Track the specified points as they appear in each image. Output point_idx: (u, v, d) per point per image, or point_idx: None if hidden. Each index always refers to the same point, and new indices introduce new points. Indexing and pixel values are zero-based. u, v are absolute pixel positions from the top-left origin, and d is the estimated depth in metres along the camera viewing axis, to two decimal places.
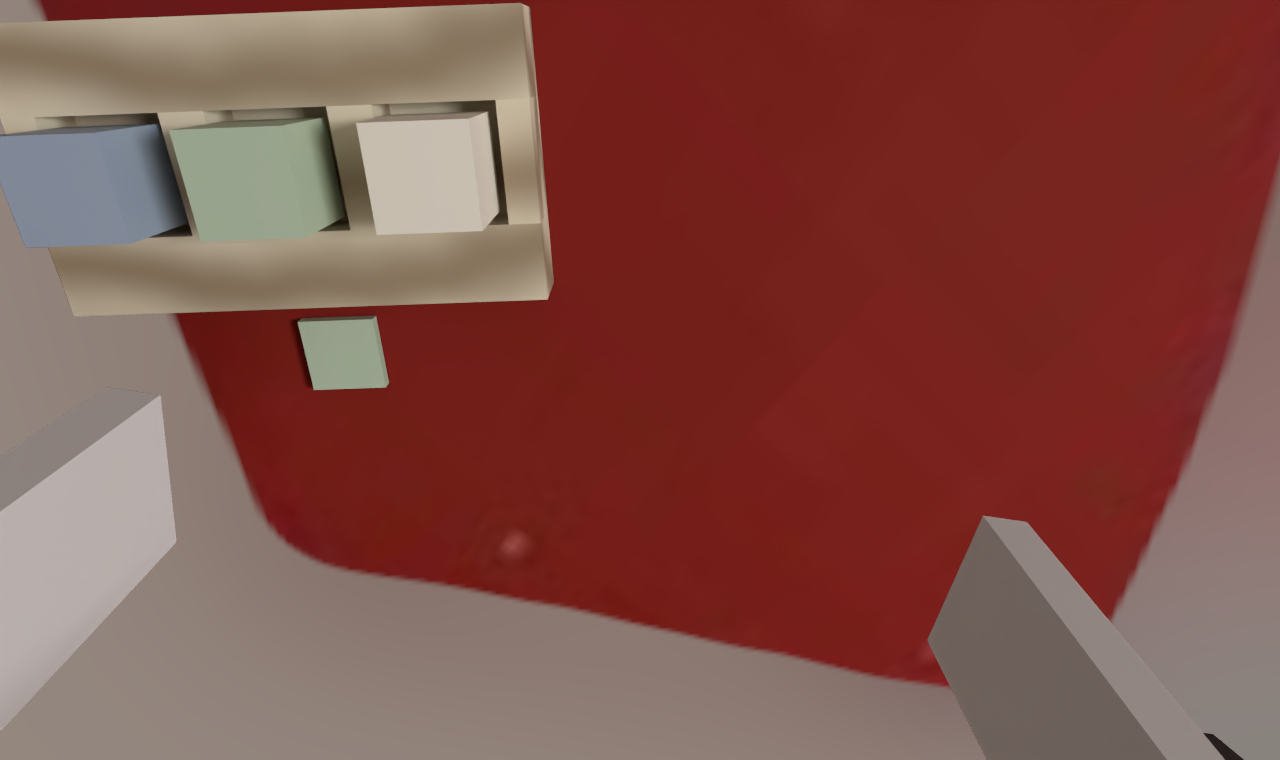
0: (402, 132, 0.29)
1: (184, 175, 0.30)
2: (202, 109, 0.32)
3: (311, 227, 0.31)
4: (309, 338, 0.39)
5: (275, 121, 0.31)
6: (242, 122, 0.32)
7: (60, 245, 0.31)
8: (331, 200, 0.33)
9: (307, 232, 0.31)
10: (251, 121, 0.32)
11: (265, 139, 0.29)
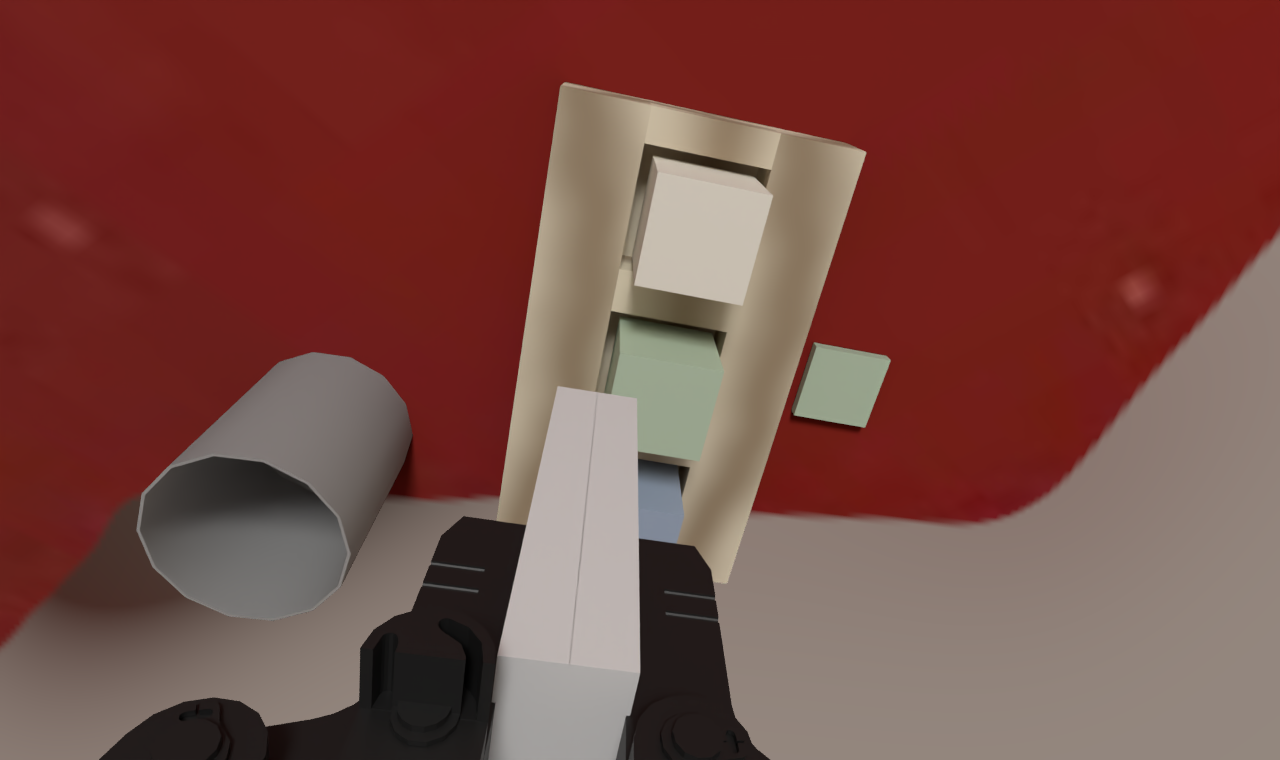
0: (653, 244, 0.28)
1: (640, 449, 0.32)
2: None
3: (715, 364, 0.31)
4: (813, 410, 0.38)
5: (613, 358, 0.33)
6: (607, 386, 0.34)
7: None
8: (694, 338, 0.33)
9: (719, 369, 0.31)
10: (608, 379, 0.34)
11: (627, 370, 0.30)
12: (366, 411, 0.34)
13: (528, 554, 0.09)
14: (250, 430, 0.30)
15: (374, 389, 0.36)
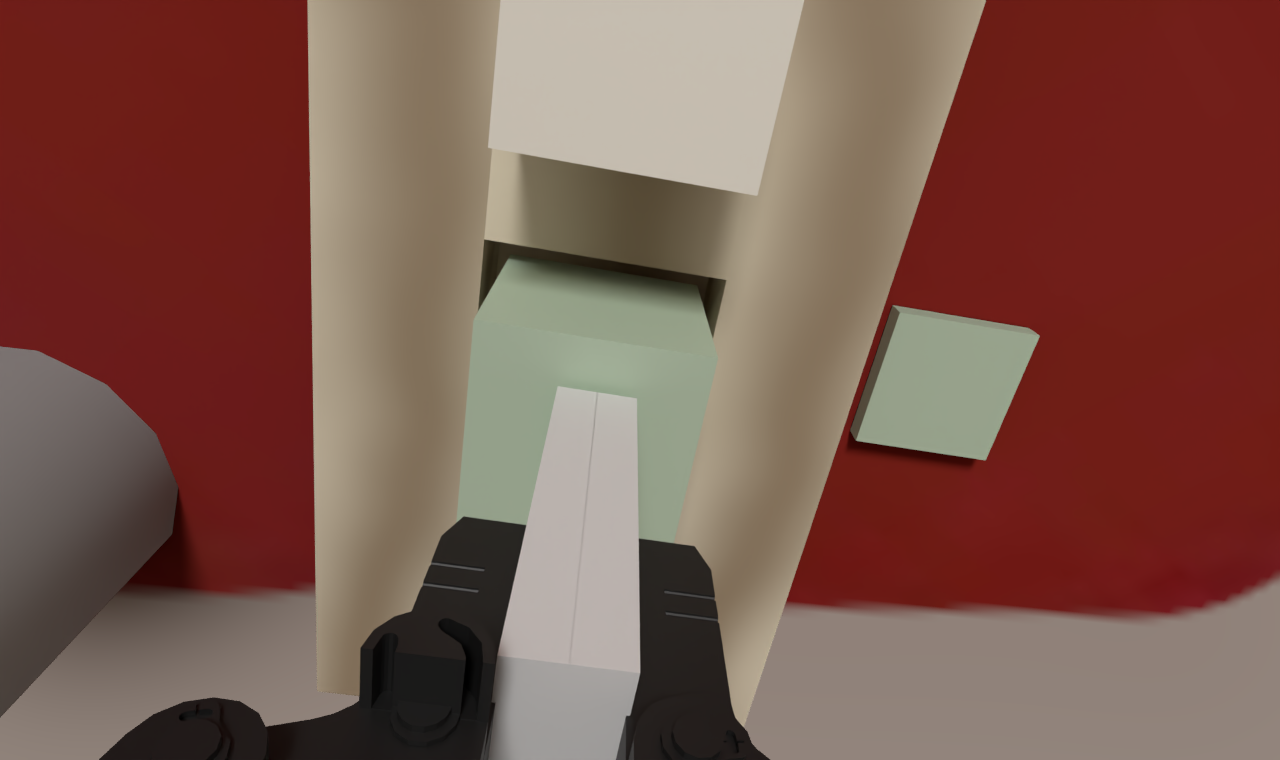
0: (525, 32, 0.11)
1: None
2: None
3: (699, 341, 0.14)
4: (891, 432, 0.21)
5: None
6: None
7: None
8: (658, 294, 0.16)
9: (708, 352, 0.13)
10: None
11: (496, 360, 0.13)
12: (22, 453, 0.18)
13: (528, 554, 0.09)
14: None
15: (66, 409, 0.19)
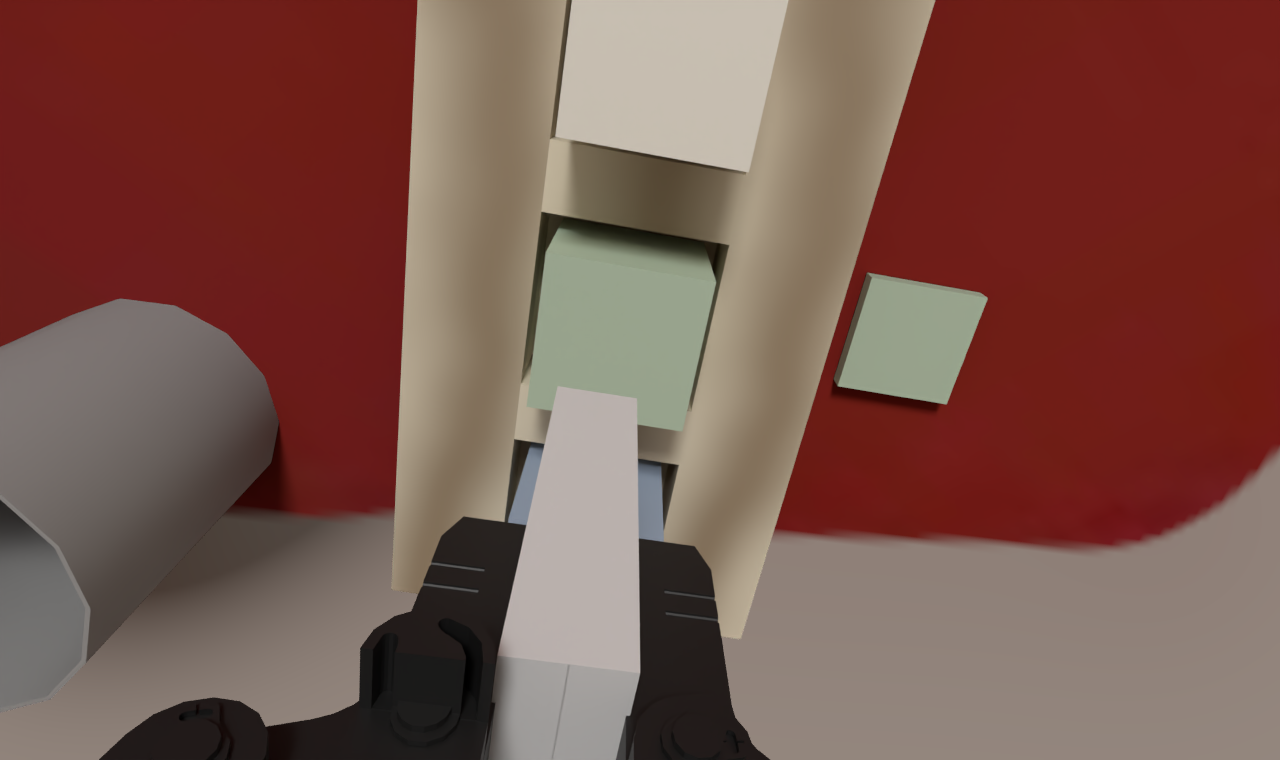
0: (584, 55, 0.16)
1: None
2: (518, 382, 0.23)
3: (703, 273, 0.20)
4: (867, 379, 0.25)
5: None
6: None
7: None
8: (675, 245, 0.22)
9: (709, 279, 0.19)
10: None
11: (560, 282, 0.19)
12: (175, 380, 0.22)
13: (528, 554, 0.09)
14: None
15: (202, 350, 0.24)
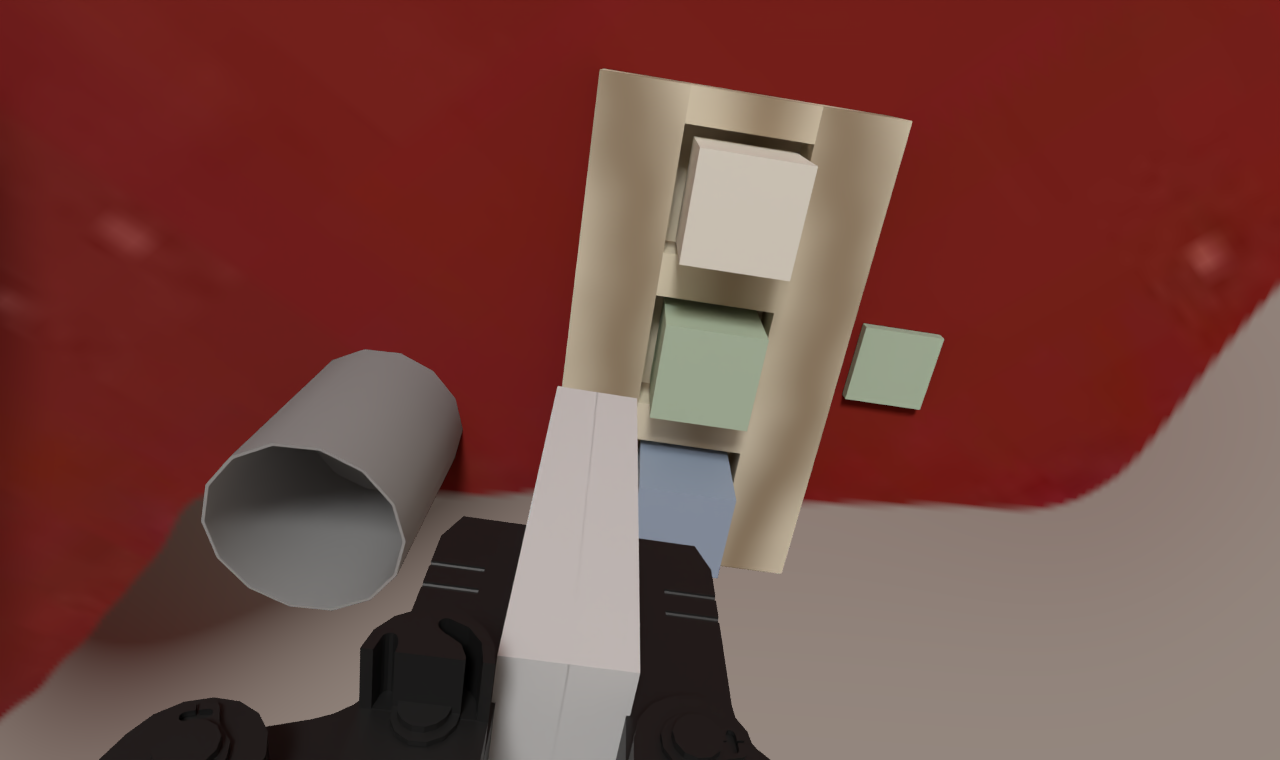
0: (697, 221, 0.28)
1: (688, 421, 0.33)
2: None
3: (760, 333, 0.32)
4: (865, 393, 0.37)
5: (659, 334, 0.34)
6: (654, 362, 0.35)
7: (722, 552, 0.34)
8: (738, 312, 0.34)
9: (764, 338, 0.31)
10: (655, 355, 0.35)
11: (674, 342, 0.31)
12: (417, 404, 0.35)
13: (528, 554, 0.09)
14: (307, 421, 0.30)
15: (424, 383, 0.37)
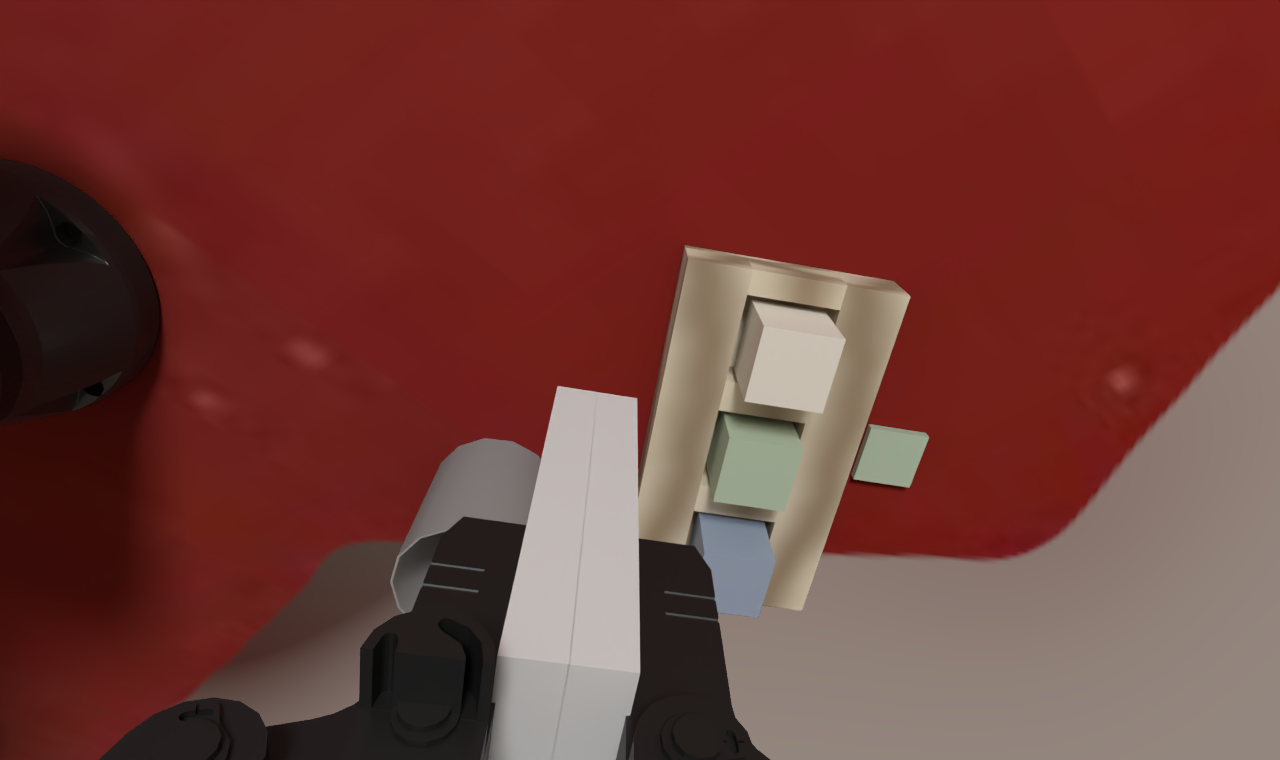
0: (759, 373, 0.39)
1: (741, 504, 0.44)
2: (699, 484, 0.47)
3: (796, 442, 0.43)
4: (868, 475, 0.49)
5: (718, 436, 0.45)
6: (713, 456, 0.46)
7: (763, 599, 0.46)
8: (777, 420, 0.46)
9: (800, 447, 0.43)
10: (713, 450, 0.47)
11: (734, 449, 0.43)
12: (533, 485, 0.46)
13: (528, 554, 0.09)
14: (467, 508, 0.41)
15: (534, 467, 0.48)
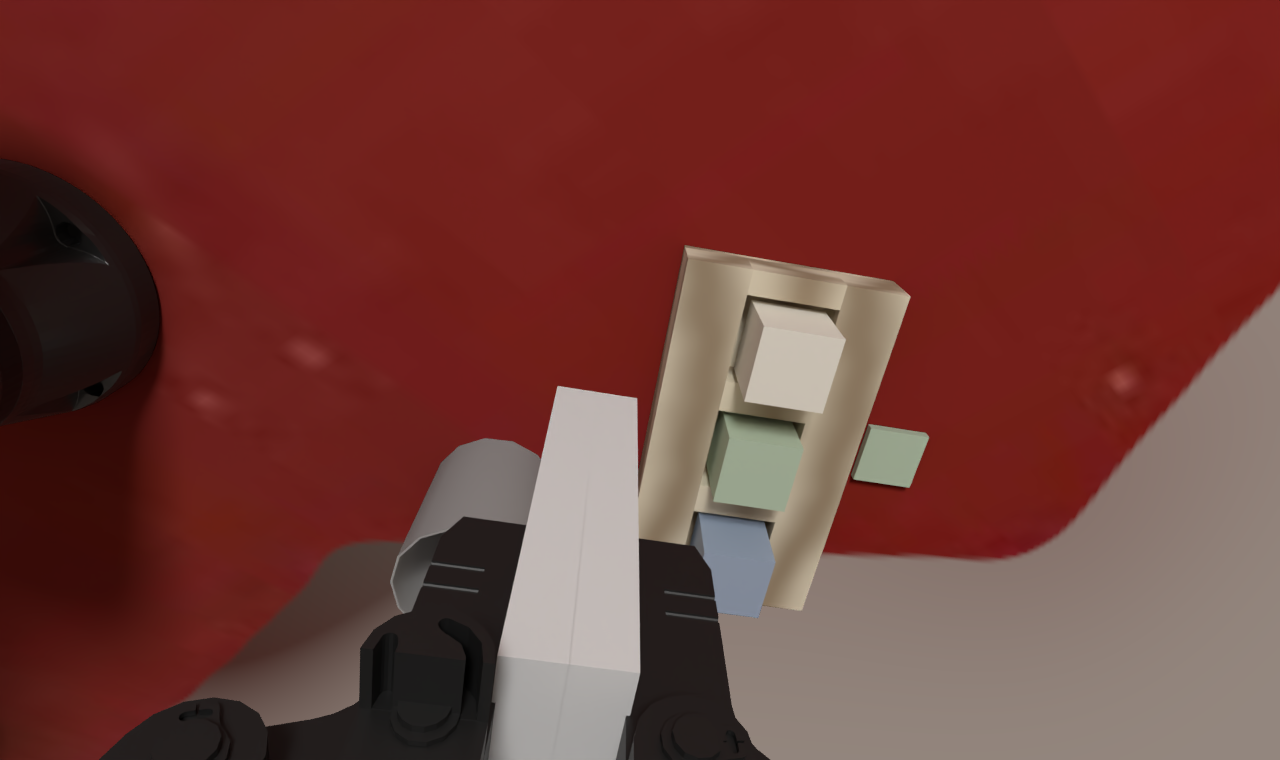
0: (759, 373, 0.39)
1: (741, 504, 0.44)
2: (699, 484, 0.47)
3: (796, 442, 0.43)
4: (868, 475, 0.49)
5: (718, 436, 0.45)
6: (713, 456, 0.46)
7: (763, 599, 0.46)
8: (777, 420, 0.46)
9: (800, 447, 0.43)
10: (713, 450, 0.47)
11: (734, 450, 0.43)
12: (533, 486, 0.46)
13: (528, 554, 0.09)
14: (467, 508, 0.41)
15: (534, 467, 0.48)
